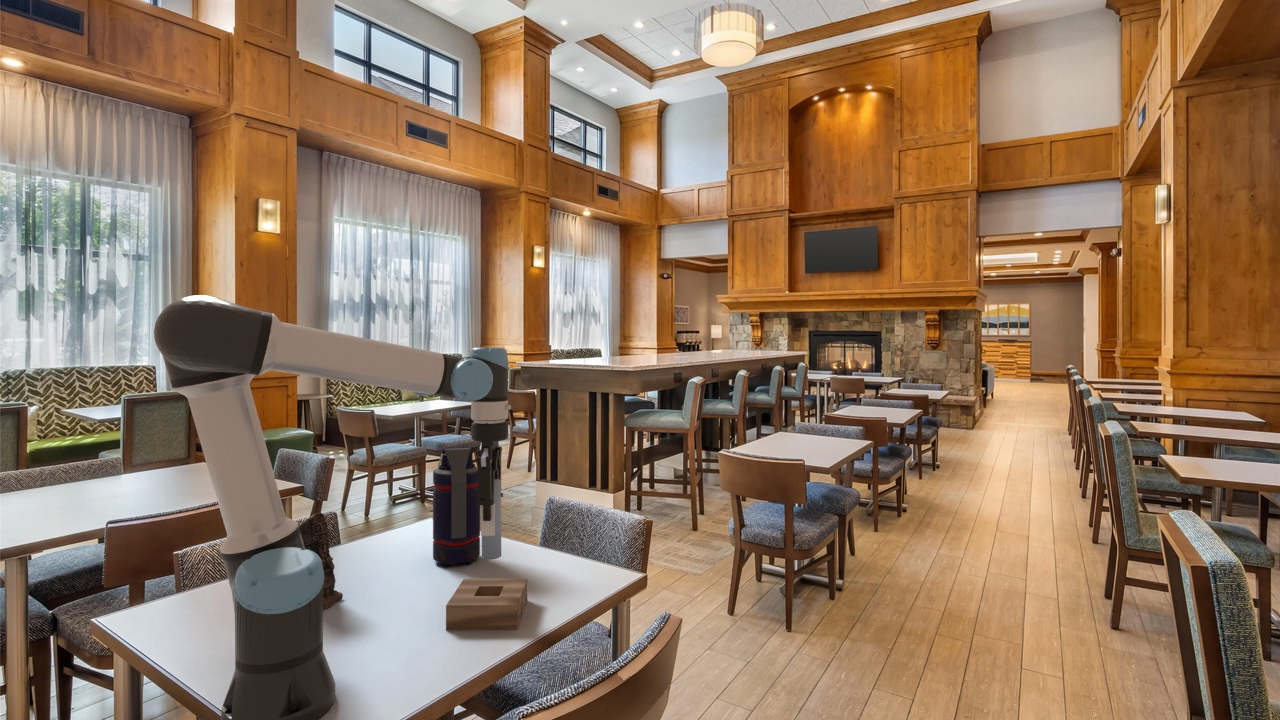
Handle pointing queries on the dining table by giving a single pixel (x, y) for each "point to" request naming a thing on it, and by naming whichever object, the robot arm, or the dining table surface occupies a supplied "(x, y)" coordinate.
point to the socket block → (487, 604)
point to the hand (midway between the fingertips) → (490, 531)
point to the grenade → (456, 508)
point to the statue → (321, 554)
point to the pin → (493, 543)
